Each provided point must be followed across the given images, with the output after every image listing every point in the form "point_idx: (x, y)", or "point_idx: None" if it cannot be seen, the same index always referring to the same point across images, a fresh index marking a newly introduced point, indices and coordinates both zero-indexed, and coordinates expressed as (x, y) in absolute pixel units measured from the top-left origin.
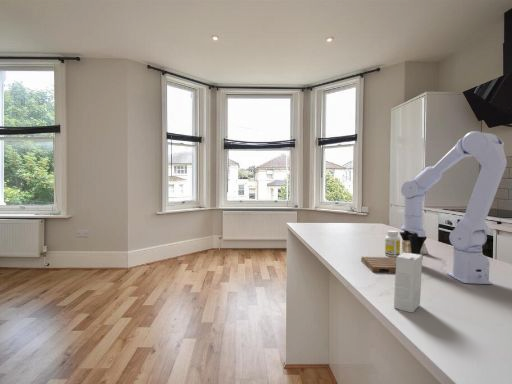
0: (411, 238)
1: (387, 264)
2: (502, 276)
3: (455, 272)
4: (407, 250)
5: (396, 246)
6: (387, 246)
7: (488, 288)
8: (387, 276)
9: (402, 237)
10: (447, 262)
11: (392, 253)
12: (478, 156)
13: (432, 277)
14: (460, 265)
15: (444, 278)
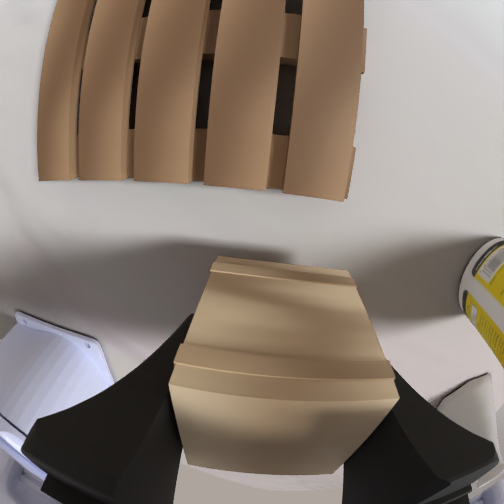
0: (39, 422)
1: (97, 36)
2: None
3: (44, 342)
4: (209, 309)
5: (495, 325)
6: None
7: None
8: (28, 39)
9: (430, 431)
10: None
11: (480, 271)
12: None
13: (35, 249)
14: (14, 362)
15: (41, 290)
